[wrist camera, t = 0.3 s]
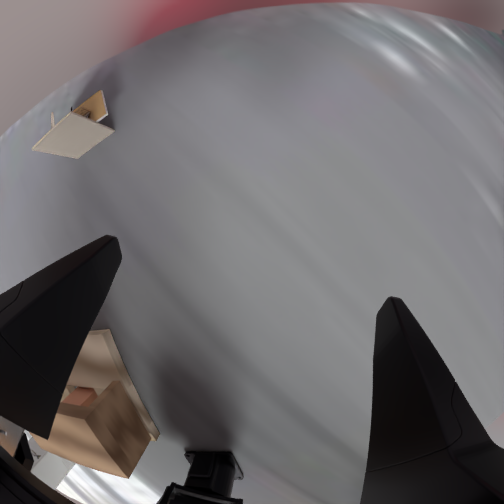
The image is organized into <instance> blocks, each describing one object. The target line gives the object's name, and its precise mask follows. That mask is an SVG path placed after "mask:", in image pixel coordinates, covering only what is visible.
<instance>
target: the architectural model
mask: <svg viewBox="0 0 504 504" xmlns="http://www.w3.org/2000/svg"><path fill="white" fill-rule="evenodd" d="M88 115H89V116H88ZM107 115H108V111H107V107H106V103H105V99H104V95H103V91H102V90H99V91H98V92H97V93H95V94H94V95H93V96H91V97H90V98H89V99H87V100H86V101H85V102H84V103H82V104H81V105H80V106H79V107H77V108H76V109H75V110H74V111H73V112H72V107H71V112H70V113H69V114H67V115H66V116H65V117H64V118H63V119H62V120H61V121H59V122H58V123H57V124H56V125H55V124H54V116H53V112H52V113H51V130H50V131H49V132H48V133H47V134H45V135H44V136H43V137H42V138H41V139H40V140H39V141H38V142H37V143H36V144H35V146H34V147H33V148H32V150H34V151H39V152H45V153H50V154H55V155H60V156H65V157H70V158H75V159H78V158H79V157H81V156H82V155H83V154H85V153H86V152H87V151H88V150H90V149H91V148H92V147H94V146H95V145H96V144H98V143H99V142H101V141H102V140H103V139H105V138H106V137H108V136H109V135H111V134H112V133H114V132H115V130H114V129H111V128H109V127H107V126H105V125H102V124H100V123H98V122H99V121H100V120H101V119H103V118H104V117H106V116H107ZM86 116H88V118H86Z"/></svg>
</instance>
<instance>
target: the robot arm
mask: <svg viewBox="0 0 504 504" xmlns="http://www.w3.org/2000/svg"><path fill="white" fill-rule="evenodd" d="M121 260H122V254H121V250H120V246H119V241H118V239H117V237H115V236H110V235H105V236H103V237H101V238H99V239H97V240H95V241H93V242H91V243H89V244H87V245H85V246H83V247H82V248H80V249H78V250H76V251H74V252H72V253H70V254H69V255H67V256H65V257H63V258H61V259H59V260H58V261H56V262H54V263H52V264H51V265H49V266H47V267H45V268H44V269H42V270H40V271H39V272H37V273H35V274H34V275H32V276H30V277H29V278H27V279H25V280H24V281H22V282H20V283H19V284H17V285H16V286H14V287H12V288H11V289H9V290H7V291H6V292H4V293H2V294H1V295H0V504H75V503H73V502H72V501H70V500H69V499H67V498H66V497H64V496H62V495H61V494H60V493H58V492H57V491H55V490H54V489H52V488H51V487H49V486H48V485H47V484H45V483H44V482H43V481H41V480H40V479H39V478H37V477H36V476H35V475H34V474H32V473H31V469H32V466H33V463H34V459H33V456H32V453H31V450H30V447H29V443H28V440H27V436H26V434H25V433H24V430H27V431H29V432H31V433H33V434H35V435H37V436H39V437H42V438H44V439H46V440H48V438H49V436H50V432H51V429H52V426H53V423H54V419H55V416H56V413H57V410H58V407H59V405H60V402H61V399H62V396H63V393H64V390H65V388H66V385H67V382H68V380H69V377H70V375H71V372H72V370H73V367H74V365H75V363H76V360H77V358H78V356H79V353H80V351H81V349H82V346H83V344H84V342H85V340H86V338H87V335H88V333H89V331H90V329H91V327H92V325H93V323H94V321H95V319H96V317H97V315H98V312H99V310H100V309H101V307H102V305H103V303H104V300H105V298H106V296H107V294H108V292H109V289H110V287H111V284H112V282H113V279H114V277H115V275H116V272H117V270H118V268H119V265H120V263H121ZM184 455H185V457H186V459H187V460H188V462H189V463H190V465H191V466H190V469H189V472H188V476H187V478H186V481H185V484H184V486H181V485H178V484H176V483H174V482H172V483H171V485H170V486H167V487H166V489H165V492H164V494H163V496H162V497H161V498H160V500H159V501H158V502H157V503H156V504H243V499H235V498H230V497H231V492H232V487H233V482H234V480H242V479H243V477H244V476H243V474H242V472H241V470H240V468H239V466H238V464H237V462H236V460H235V458H234V456H233V454H232V453H230V452H185V454H184ZM360 504H504V449H503V448H501V447H499V446H498V445H496V444H495V443H494V442H493V441H492V440H491V438H490V437H489V435H488V434H487V432H486V430H485V429H484V427H483V425H482V424H481V422H480V421H479V419H478V417H477V416H476V414H475V413H474V411H473V409H472V408H471V406H470V405H469V403H468V401H467V400H466V398H465V396H464V395H463V393H462V391H461V389H460V388H459V386H458V384H457V382H455V379H454V377H453V376H452V374H451V372H450V371H449V369H448V367H447V366H446V364H445V363H444V361H443V359H442V358H441V356H440V355H439V353H438V351H437V350H436V348H435V347H434V345H433V344H432V342H431V341H430V339H429V338H428V336H427V335H426V333H425V332H424V330H423V329H422V327H421V326H420V324H419V323H418V322H417V320H416V319H415V317H414V316H413V314H412V313H411V312H410V310H409V309H408V307H407V306H406V305H405V303H404V302H403V301H402V299H400V298H397V297H392V296H391V297H388V298H387V300H386V301H385V303H384V304H383V306H382V307H381V308H380V310H379V311H378V314H377V317H376V331H375V344H374V355H373V397H372V417H371V430H370V441H369V451H368V459H367V467H366V473H365V479H364V485H363V491H362V497H361V502H360Z"/></svg>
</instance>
